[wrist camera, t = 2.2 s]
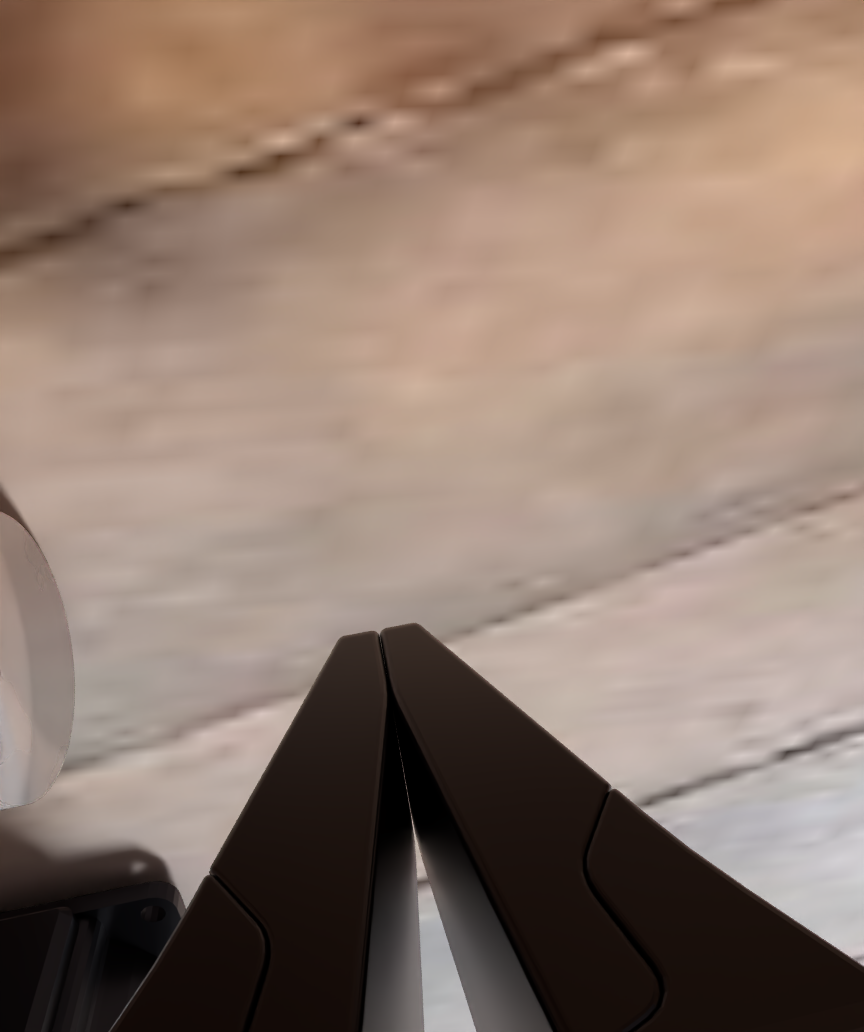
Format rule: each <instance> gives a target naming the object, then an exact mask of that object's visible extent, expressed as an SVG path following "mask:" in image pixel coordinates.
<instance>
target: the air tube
mask: <svg viewBox="0 0 864 1032" xmlns="http://www.w3.org/2000/svg"><path fill="white" fill-rule="evenodd" d="M74 703H75V678H74V662H73V652H72V645H71V638H70V633H69V627H68V622H67V618H66V614H65V610H64V606H63V603H62V599H61V596H60V593H59V590H58V587H57V584H56V582H55V579H54V576H53V574H52V572H51V569H50V567H49V565H48V563H47V561H46V559H45V557H44V555H43V553H42V552H41V550H40V548H39V547H38V545H37V544H36V542H35V541H34V539H33V538H32V537H31V535H30V534H29V533H28V532H27V530H26V529H25V528H24V527H23V526H22V525H21V524H20V523H19V522H17V521H16V520H15V519H13V518H12V517H11V516H9V515H7V514H5V513H3V512H0V810H4V809H9V808H13V807H18V806H23V805H27V804H31V803H33V802H35V801H37V800H38V799H40V798H41V797H42V796H43V795H45V794H46V793H47V792H48V790H49V789H50V788H51V786H52V785H53V784H54V782H55V780H56V778H57V777H58V775H59V773H60V771H61V768H62V765H63V763H64V760H65V757H66V754H67V750H68V747H69V742H70V737H71V732H72V725H73V717H74Z"/></svg>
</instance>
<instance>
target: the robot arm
mask: <svg viewBox="0 0 864 1032" xmlns="http://www.w3.org/2000/svg"><path fill="white" fill-rule="evenodd" d="M380 639H381V641H380ZM381 644H382V647H381ZM382 650H383V652H382ZM383 656H384V657H383ZM384 662H385V663H384ZM386 673H387V674H386ZM397 736H398V737H397ZM398 742H399V743H398ZM399 747H400V748H399ZM400 753H401V754H400ZM401 759H402V760H401ZM402 764H403V766H402ZM403 770H404V772H403ZM404 775H405V777H404ZM405 781H406V783H405ZM406 787H407V789H406ZM407 792H408V795H407ZM408 798H409V801H408ZM409 804H410V806H409ZM410 809H411V812H410ZM411 815H412V818H411ZM412 820H413V824H414V829H415V834H416V838H417V842H418V846H419V849H420V853H421V856H422V860H423V863H424V866H425V869H426V872H427V876H428V879H429V882H430V885H431V888H432V892H433V895H434V898H435V901H436V904H437V907H438V911H439V914H440V917H441V920H442V923H443V926H444V930H445V933H446V936H447V939H448V942H449V946H450V949H451V952H452V955H453V958H454V961H455V965H456V968H457V971H458V974H459V977H460V980H461V984H462V987H463V990H464V993H465V996H466V1000H467V1003H468V1006H469V1009H470V1012H471V1015H472V1019H473V1022H474V1025H475V1028H476V1031H477V1032H864V966H863V965H861V964H860V963H858V962H857V961H855V960H854V959H852V958H851V957H849V956H848V955H846V954H845V953H843V952H842V951H840V950H839V949H837V948H836V947H834V946H833V945H831V944H830V943H828V942H827V941H825V940H824V939H822V938H821V937H819V936H818V935H816V934H815V933H813V932H812V931H810V930H809V929H807V928H806V927H804V926H803V925H801V924H800V923H798V922H797V921H795V920H794V919H792V918H791V917H789V916H788V915H786V914H785V913H783V912H782V911H780V910H779V909H777V908H776V907H774V906H773V905H771V904H770V903H768V902H767V901H765V900H764V899H762V898H761V897H759V896H758V895H756V894H755V893H753V892H752V891H750V890H749V889H747V888H746V887H744V886H743V885H742V884H740V883H739V882H737V881H736V880H734V879H733V878H732V877H730V876H729V875H727V874H726V873H724V872H723V871H722V870H720V869H719V868H717V867H716V866H714V865H713V864H712V863H710V862H709V861H707V860H706V859H704V858H703V857H702V856H700V855H699V854H697V853H696V852H695V851H693V850H692V849H690V848H689V847H688V846H686V845H685V844H684V843H683V842H681V841H680V840H679V839H678V838H676V837H675V836H674V835H672V834H671V833H670V832H669V831H667V830H666V829H665V828H664V827H662V826H661V825H660V824H658V823H657V822H656V821H655V820H653V819H652V818H651V817H650V816H648V815H647V814H646V813H644V812H643V811H642V810H641V809H640V808H638V807H637V806H636V805H635V804H634V803H633V802H631V801H630V800H629V799H628V798H627V797H625V796H624V795H623V794H622V793H621V792H620V791H618V790H617V789H612V790H611V785H610V784H609V783H608V782H607V781H606V780H605V779H603V778H602V777H601V776H600V775H599V774H598V773H596V772H595V771H594V770H593V769H592V768H590V767H589V766H588V765H587V764H586V763H584V762H583V761H582V760H581V759H580V758H578V757H577V756H576V755H575V754H574V753H572V752H571V751H570V750H569V749H568V748H566V747H565V746H564V745H563V744H562V743H560V742H559V741H558V740H557V739H556V738H554V737H553V736H552V735H551V734H550V733H549V732H547V731H546V730H545V729H544V728H543V727H541V726H540V725H539V724H538V723H537V722H535V721H534V720H533V719H532V718H531V717H529V716H528V715H527V714H526V713H525V712H523V711H522V710H521V709H520V708H519V707H517V706H516V705H515V704H514V703H513V702H511V701H510V700H509V699H508V698H507V697H506V696H504V695H503V694H502V693H501V692H500V691H498V690H497V689H496V688H495V687H494V686H492V685H491V684H490V683H489V682H488V681H486V680H485V679H484V678H483V677H482V676H480V675H479V674H478V673H477V672H476V671H474V670H473V669H472V668H471V667H470V666H468V665H467V664H466V663H465V662H464V661H462V660H461V659H460V658H459V657H458V656H457V655H455V654H454V653H453V652H452V651H451V650H449V649H448V648H447V647H446V646H445V645H443V644H442V643H441V642H440V641H439V640H437V639H436V638H435V637H434V636H433V635H431V634H430V633H429V632H428V631H427V630H425V629H424V628H423V627H422V626H421V625H419V624H417V623H410V624H405V625H400V626H394V627H389V628H385V629H383V630H382V631H381V633H380V636H379V634H378V633H377V632H375V631H368V632H363V633H357V634H352V635H346V636H343V637H341V638H340V639H339V640H338V641H337V643H336V645H335V647H334V649H333V650H332V652H331V654H330V656H329V657H328V659H327V661H326V663H325V665H324V666H323V668H322V670H321V672H320V673H319V675H318V677H317V679H316V681H315V682H314V684H313V686H312V688H311V690H310V691H309V693H308V695H307V697H306V698H305V700H304V702H303V704H302V706H301V707H300V709H299V711H298V713H297V714H296V716H295V718H294V720H293V722H292V723H291V725H290V727H289V729H288V730H287V732H286V734H285V736H284V738H283V739H282V741H281V743H280V745H279V746H278V748H277V750H276V752H275V754H274V755H273V757H272V759H271V761H270V763H269V764H268V766H267V768H266V770H265V771H264V773H263V775H262V777H261V779H260V780H259V782H258V784H257V786H256V787H255V789H254V791H253V793H252V795H251V796H250V798H249V800H248V802H247V803H246V805H245V807H244V809H243V811H242V812H241V814H240V816H239V818H238V820H237V821H236V823H235V825H234V827H233V828H232V830H231V832H230V834H229V836H228V837H227V839H226V841H225V843H224V844H223V846H222V848H221V850H220V852H219V853H218V855H217V857H216V859H215V860H214V862H213V864H212V866H211V868H210V870H209V873H210V875H207V876H206V877H205V878H204V879H203V881H202V883H201V884H200V886H199V888H198V890H197V892H196V893H195V895H194V897H193V899H192V901H191V902H190V904H189V906H188V908H187V910H186V908H185V905H184V903H183V900H182V897H181V895H180V892H179V891H178V890H177V888H176V887H175V886H173V885H171V884H169V883H166V882H161V881H156V882H147V883H143V884H138V885H133V886H128V887H124V888H119V889H114V890H109V891H105V892H100V893H95V894H90V895H86V896H81V897H76V898H71V899H67V900H62V901H57V902H52V903H48V904H43V905H38V906H33V907H29V908H24V909H19V910H14V911H10V912H5V913H0V1032H424V1015H423V994H422V973H421V952H420V931H419V910H418V889H417V868H416V853H415V840H414V832H413V825H412Z"/></svg>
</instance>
